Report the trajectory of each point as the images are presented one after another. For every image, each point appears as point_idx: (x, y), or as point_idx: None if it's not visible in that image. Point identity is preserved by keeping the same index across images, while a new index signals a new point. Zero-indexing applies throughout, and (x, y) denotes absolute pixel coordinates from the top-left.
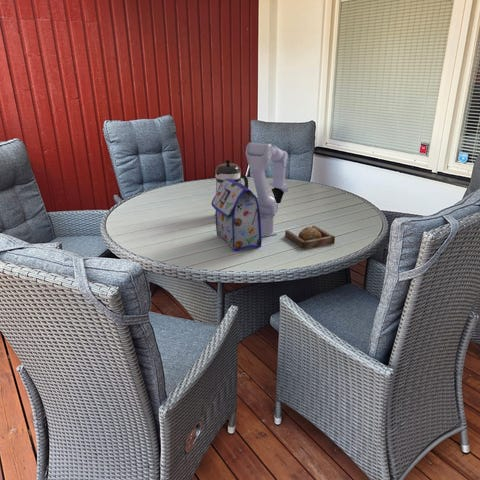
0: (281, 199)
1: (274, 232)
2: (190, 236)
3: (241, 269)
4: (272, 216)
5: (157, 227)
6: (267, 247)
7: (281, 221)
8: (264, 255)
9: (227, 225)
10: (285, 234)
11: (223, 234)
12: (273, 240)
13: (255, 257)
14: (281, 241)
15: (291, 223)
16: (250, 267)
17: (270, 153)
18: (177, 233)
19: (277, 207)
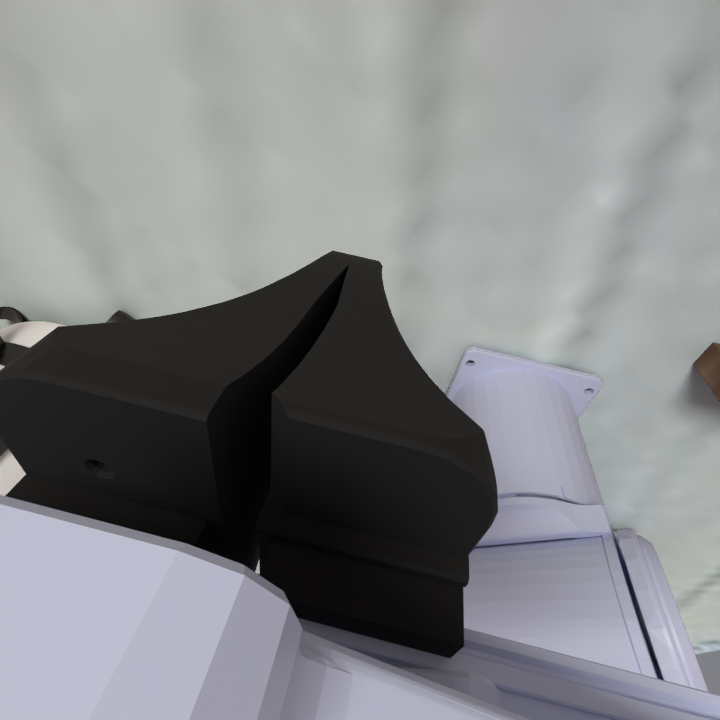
0: (378, 282)
1: (571, 379)
2: None
3: (689, 638)
4: (619, 547)
5: None
6: (670, 514)
7: (387, 100)
8: (712, 564)
9: None
10: (711, 381)
11: None
12: (642, 445)
13: (680, 584)
14: (711, 429)
15: (529, 28)
16: (716, 626)
17: None
18: (256, 570)
19: (671, 601)
